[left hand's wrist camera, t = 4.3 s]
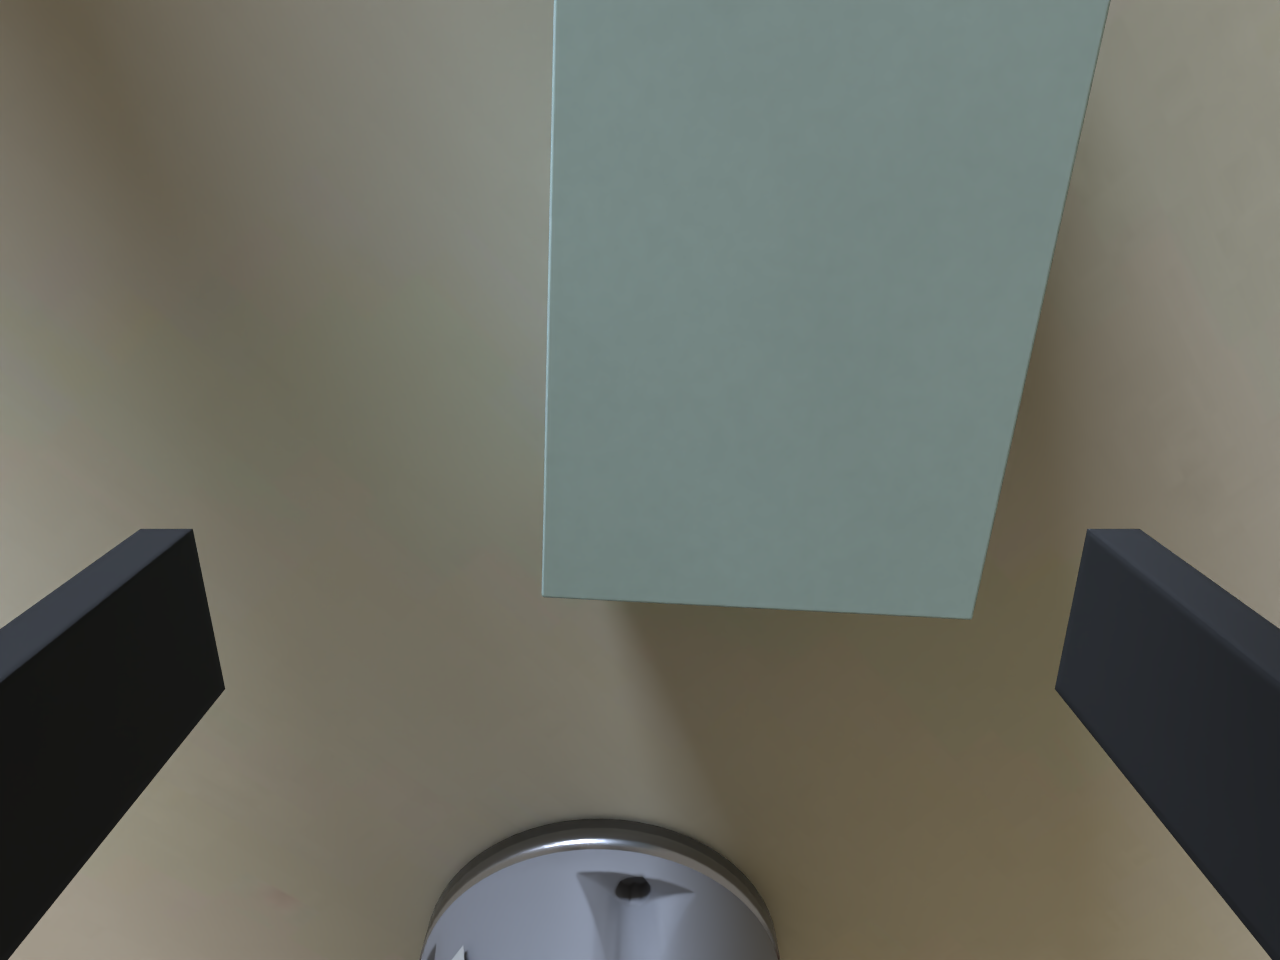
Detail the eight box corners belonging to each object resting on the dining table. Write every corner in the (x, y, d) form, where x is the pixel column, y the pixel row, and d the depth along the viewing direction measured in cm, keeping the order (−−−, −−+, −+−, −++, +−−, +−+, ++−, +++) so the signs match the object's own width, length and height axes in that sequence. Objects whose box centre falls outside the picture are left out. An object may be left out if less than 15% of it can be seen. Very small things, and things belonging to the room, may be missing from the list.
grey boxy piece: (588, -132, 23) (559, -299, 15) (983, -104, 23) (1168, -254, 15) (568, 479, 29) (541, 598, 21) (880, 496, 29) (972, 621, 21)
